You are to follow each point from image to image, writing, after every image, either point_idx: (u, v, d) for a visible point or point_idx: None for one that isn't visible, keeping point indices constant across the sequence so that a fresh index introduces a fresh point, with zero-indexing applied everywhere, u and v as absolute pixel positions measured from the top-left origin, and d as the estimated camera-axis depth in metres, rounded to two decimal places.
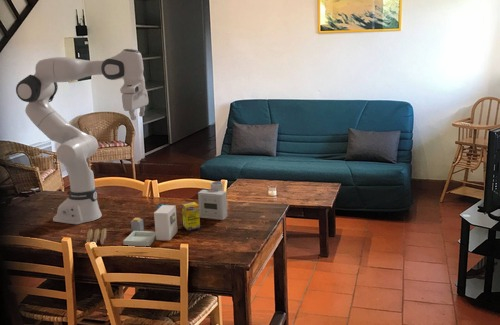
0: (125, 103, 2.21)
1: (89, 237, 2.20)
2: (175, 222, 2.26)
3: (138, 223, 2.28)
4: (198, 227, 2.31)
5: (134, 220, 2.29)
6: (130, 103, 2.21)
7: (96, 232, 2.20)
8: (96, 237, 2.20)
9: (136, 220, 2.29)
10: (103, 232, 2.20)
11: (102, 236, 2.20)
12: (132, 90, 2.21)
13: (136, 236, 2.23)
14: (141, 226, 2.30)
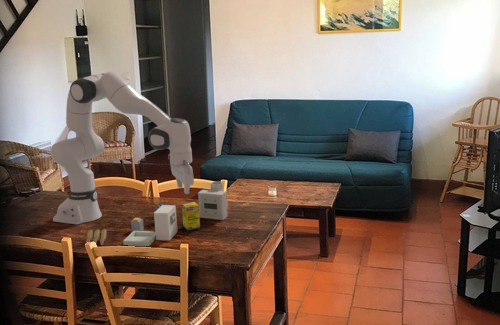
0: None
1: (89, 238, 2.19)
2: (175, 222, 2.26)
3: (138, 223, 2.28)
4: (198, 227, 2.31)
5: (134, 220, 2.29)
6: None
7: (96, 233, 2.19)
8: (96, 238, 2.19)
9: (136, 220, 2.29)
10: (103, 233, 2.20)
11: (102, 237, 2.19)
12: None
13: (136, 236, 2.23)
14: (141, 226, 2.30)
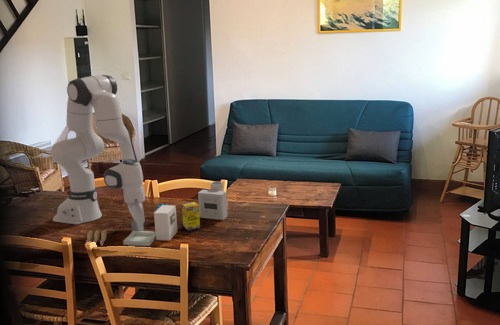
0: None
1: (89, 238, 2.18)
2: (175, 222, 2.26)
3: None
4: (198, 227, 2.31)
5: (134, 220, 2.29)
6: None
7: (96, 233, 2.19)
8: (96, 238, 2.18)
9: None
10: (103, 233, 2.19)
11: (102, 237, 2.19)
12: None
13: (136, 236, 2.23)
14: None
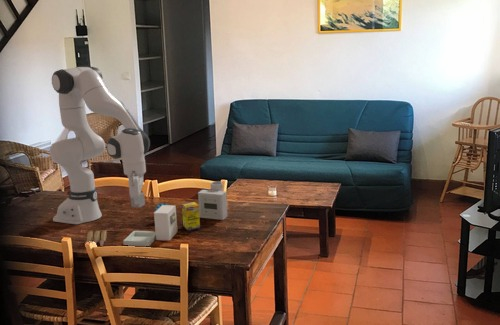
0: None
1: (89, 239, 2.18)
2: (175, 222, 2.26)
3: None
4: (198, 227, 2.31)
5: None
6: None
7: (96, 234, 2.18)
8: (96, 239, 2.18)
9: None
10: (103, 234, 2.18)
11: (102, 238, 2.18)
12: None
13: (136, 236, 2.23)
14: (141, 200, 2.15)
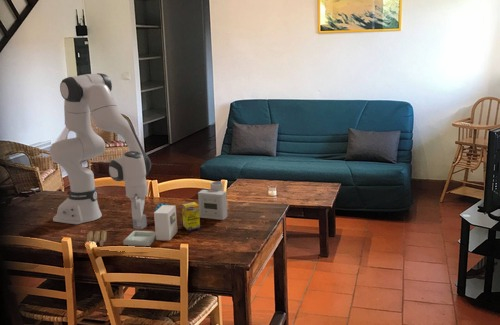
0: None
1: (89, 239, 2.17)
2: (175, 222, 2.26)
3: None
4: (198, 227, 2.31)
5: None
6: None
7: (96, 234, 2.18)
8: (96, 239, 2.17)
9: None
10: (103, 234, 2.18)
11: (102, 238, 2.17)
12: None
13: (136, 236, 2.23)
14: (143, 222, 2.17)
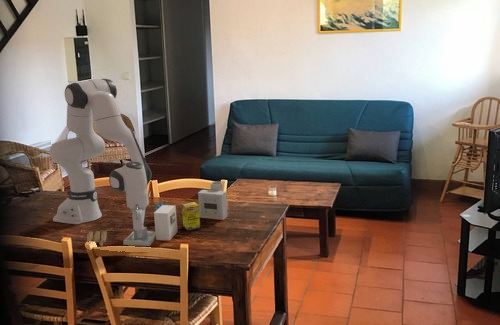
0: None
1: (89, 239, 2.17)
2: (175, 222, 2.26)
3: None
4: (198, 227, 2.31)
5: None
6: None
7: (96, 235, 2.17)
8: (96, 240, 2.17)
9: None
10: (103, 235, 2.17)
11: (102, 239, 2.17)
12: None
13: None
14: (144, 234, 2.18)
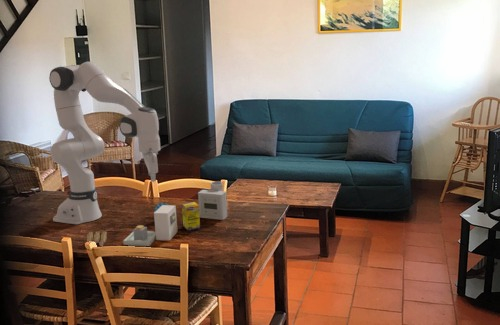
0: None
1: (89, 240, 2.17)
2: (175, 222, 2.26)
3: (140, 231, 2.16)
4: (198, 227, 2.31)
5: (137, 228, 2.18)
6: None
7: (96, 235, 2.17)
8: (96, 240, 2.17)
9: (139, 228, 2.17)
10: (103, 235, 2.17)
11: (102, 239, 2.17)
12: None
13: None
14: (144, 234, 2.18)
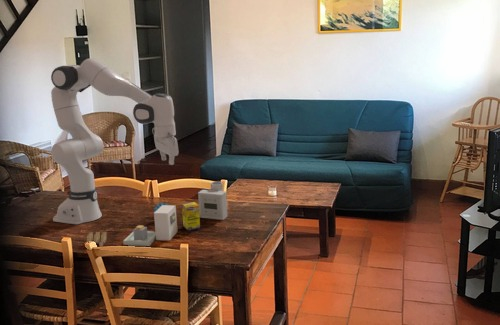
0: None
1: (89, 240, 2.16)
2: (175, 222, 2.26)
3: (140, 231, 2.16)
4: (198, 227, 2.31)
5: (137, 228, 2.18)
6: None
7: (96, 235, 2.17)
8: (95, 240, 2.16)
9: (139, 228, 2.17)
10: (103, 236, 2.17)
11: (102, 240, 2.16)
12: None
13: None
14: (144, 234, 2.18)
